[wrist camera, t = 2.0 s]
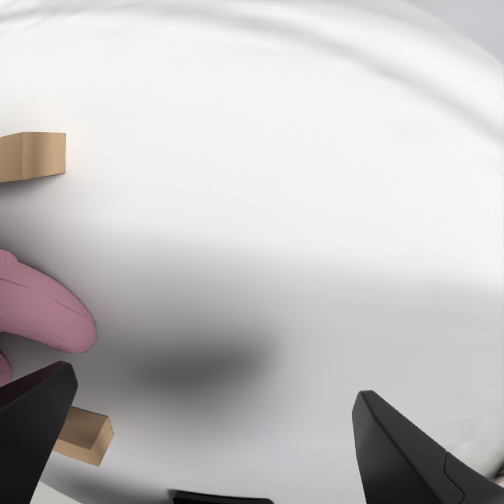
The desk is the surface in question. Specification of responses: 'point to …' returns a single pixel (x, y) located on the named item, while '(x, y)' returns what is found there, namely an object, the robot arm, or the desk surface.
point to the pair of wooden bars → (32, 166)
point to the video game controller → (40, 311)
